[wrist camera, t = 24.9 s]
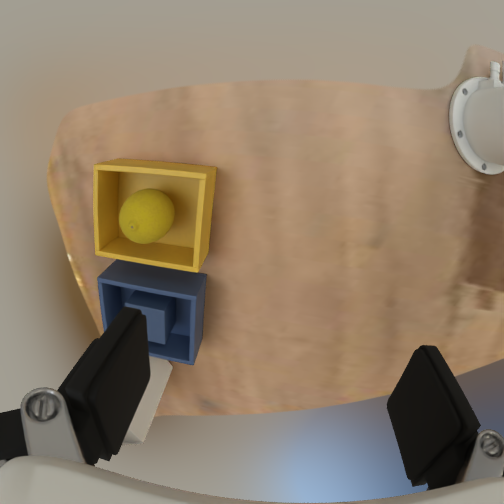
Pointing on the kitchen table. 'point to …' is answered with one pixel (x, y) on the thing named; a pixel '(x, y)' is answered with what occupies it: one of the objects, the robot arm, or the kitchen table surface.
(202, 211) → the yellow bin
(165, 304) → the blue block
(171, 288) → the blue bin
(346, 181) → the kitchen table surface
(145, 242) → the lemon
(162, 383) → the milk carton
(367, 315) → the kitchen table surface
